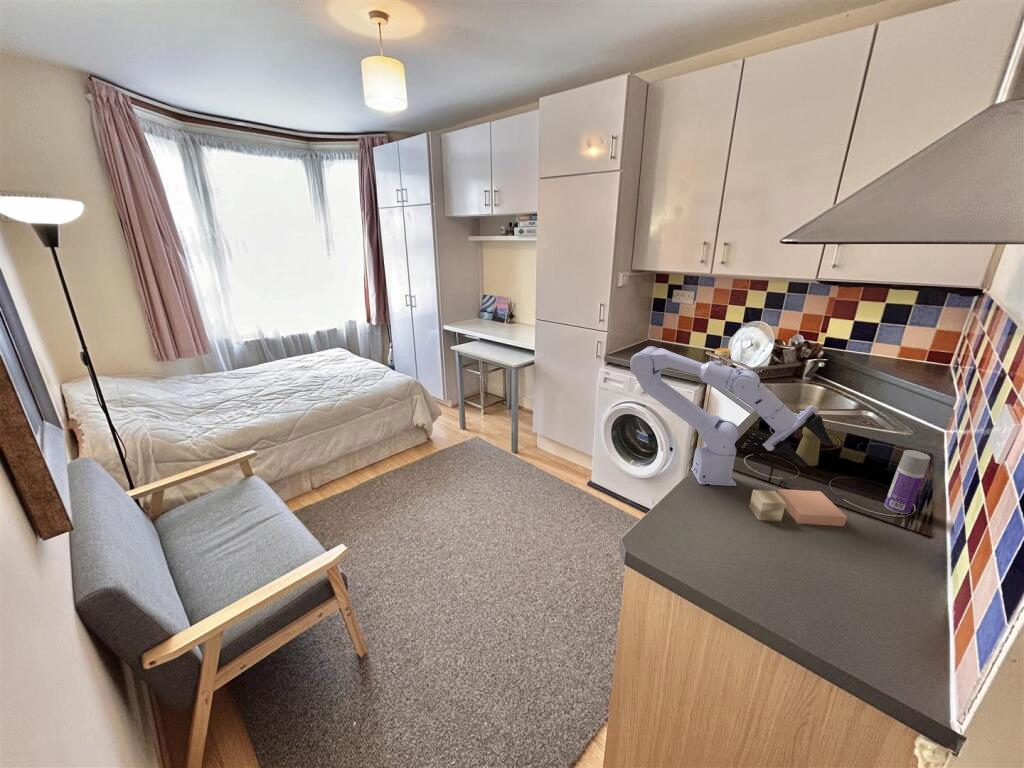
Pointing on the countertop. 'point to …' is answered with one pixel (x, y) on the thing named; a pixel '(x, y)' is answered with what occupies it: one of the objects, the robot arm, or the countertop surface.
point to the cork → (809, 447)
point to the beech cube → (767, 505)
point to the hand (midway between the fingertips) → (817, 455)
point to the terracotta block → (811, 507)
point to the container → (907, 481)
